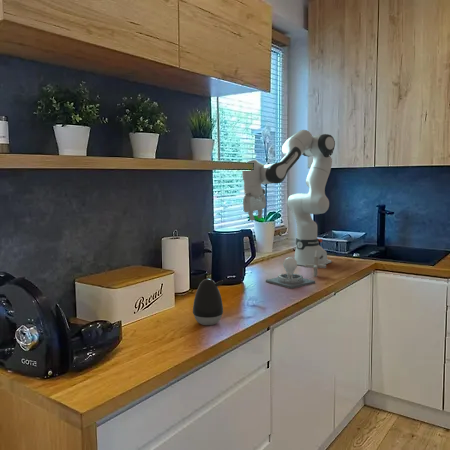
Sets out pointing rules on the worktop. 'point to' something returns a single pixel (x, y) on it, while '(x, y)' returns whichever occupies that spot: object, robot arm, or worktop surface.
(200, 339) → the worktop surface
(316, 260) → the pipe connector
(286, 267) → the lightbulb
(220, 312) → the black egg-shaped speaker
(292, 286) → the collar board
